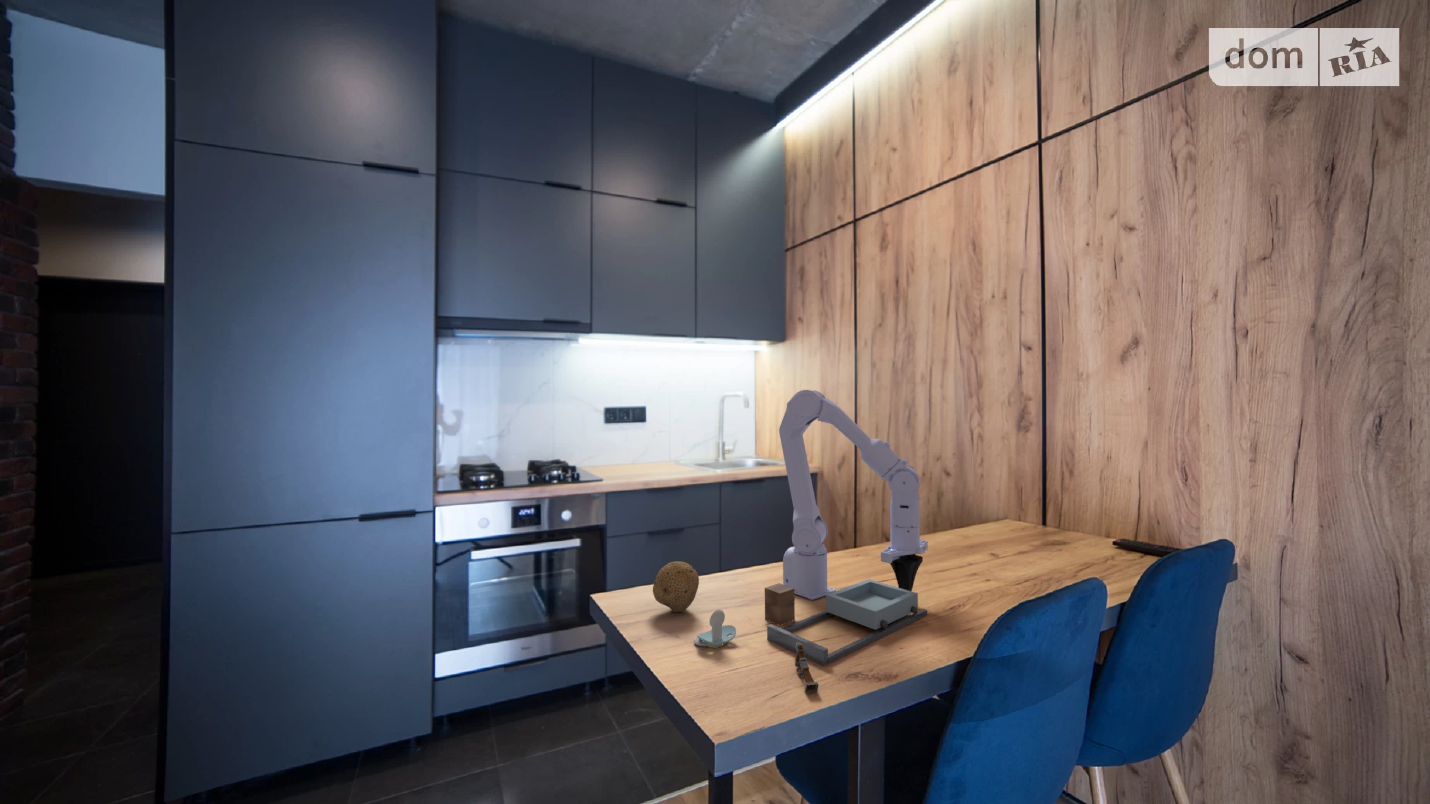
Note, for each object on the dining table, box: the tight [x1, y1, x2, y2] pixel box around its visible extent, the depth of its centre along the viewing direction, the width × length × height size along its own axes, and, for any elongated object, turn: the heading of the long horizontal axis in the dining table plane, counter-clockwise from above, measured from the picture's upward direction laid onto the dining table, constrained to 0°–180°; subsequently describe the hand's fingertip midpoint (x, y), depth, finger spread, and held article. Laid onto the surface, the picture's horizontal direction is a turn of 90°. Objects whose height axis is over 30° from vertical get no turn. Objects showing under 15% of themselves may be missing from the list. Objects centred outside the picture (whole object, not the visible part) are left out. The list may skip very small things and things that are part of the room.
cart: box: [825, 578, 919, 631], centre depth 104 cm, size 12×14×3 cm
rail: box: [766, 608, 928, 667], centre depth 99 cm, size 13×31×2 cm, turn 129°
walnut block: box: [764, 583, 796, 626], centre depth 103 cm, size 4×4×6 cm
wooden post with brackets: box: [794, 642, 820, 694], centre depth 81 cm, size 2×8×4 cm, turn 7°
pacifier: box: [693, 608, 737, 648], centre depth 94 cm, size 7×6×6 cm
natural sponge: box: [652, 560, 700, 613], centre depth 107 cm, size 9×9×10 cm
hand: (905, 590), depth 111 cm, fingers closed
